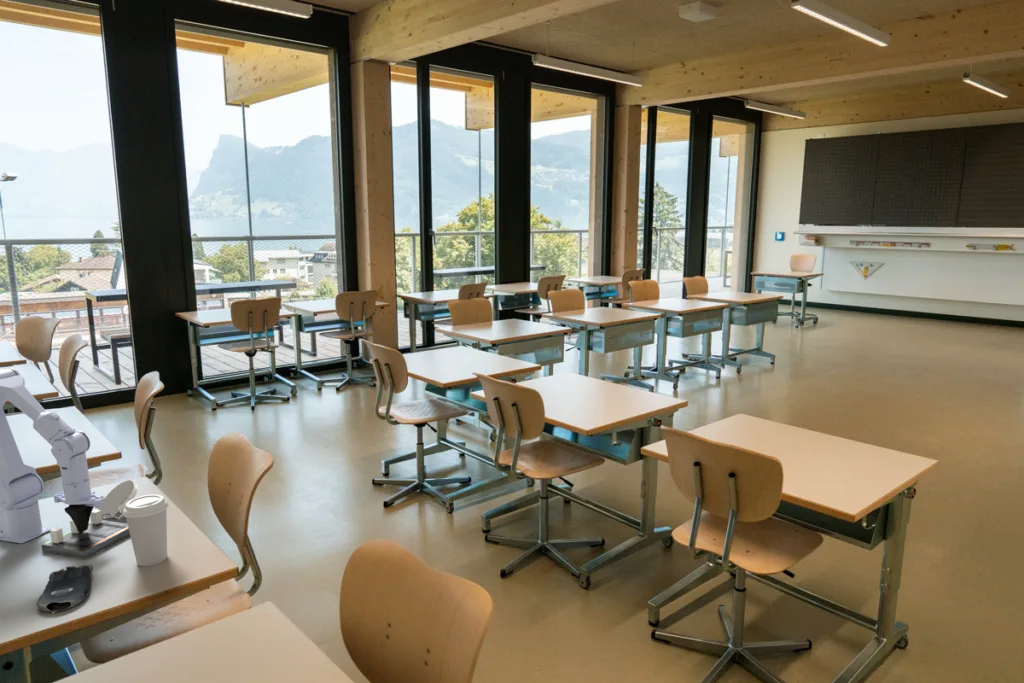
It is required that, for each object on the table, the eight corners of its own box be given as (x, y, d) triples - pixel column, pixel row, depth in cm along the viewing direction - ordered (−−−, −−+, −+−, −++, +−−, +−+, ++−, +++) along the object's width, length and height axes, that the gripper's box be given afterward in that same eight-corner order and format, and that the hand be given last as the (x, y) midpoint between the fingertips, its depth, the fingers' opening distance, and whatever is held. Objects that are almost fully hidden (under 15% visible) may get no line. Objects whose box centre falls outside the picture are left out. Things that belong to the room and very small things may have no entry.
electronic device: (45, 592, 151) (32, 617, 138) (46, 567, 151) (34, 590, 138) (94, 587, 156) (86, 610, 142) (95, 563, 156) (87, 584, 142)
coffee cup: (126, 573, 155) (118, 512, 153) (132, 554, 164) (125, 496, 162) (172, 564, 159) (165, 505, 156) (175, 547, 168) (169, 490, 165)
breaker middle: (71, 532, 172) (69, 519, 171) (77, 529, 173) (75, 517, 173) (77, 533, 171) (75, 520, 171) (83, 530, 173) (81, 517, 172)
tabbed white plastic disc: (89, 508, 190) (108, 471, 192) (117, 515, 195) (135, 478, 198) (106, 524, 179) (126, 484, 182) (135, 530, 185) (154, 491, 188)
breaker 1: (51, 542, 167) (49, 530, 166) (57, 539, 168) (56, 527, 168) (57, 543, 166) (55, 531, 165) (63, 540, 168) (61, 528, 167)
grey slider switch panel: (42, 551, 167) (41, 544, 166) (96, 525, 181) (95, 518, 180) (85, 559, 162) (83, 551, 162) (136, 532, 176) (135, 524, 176)
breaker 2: (91, 523, 177) (89, 511, 176) (96, 520, 178) (95, 509, 178) (97, 524, 176) (95, 512, 176) (102, 521, 178) (100, 510, 177)
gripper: (111, 477, 171) (118, 527, 173) (69, 472, 175) (76, 520, 178) (86, 487, 164) (94, 539, 167) (43, 482, 169) (51, 532, 171)
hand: (83, 530), depth 172 cm, fingers closed
